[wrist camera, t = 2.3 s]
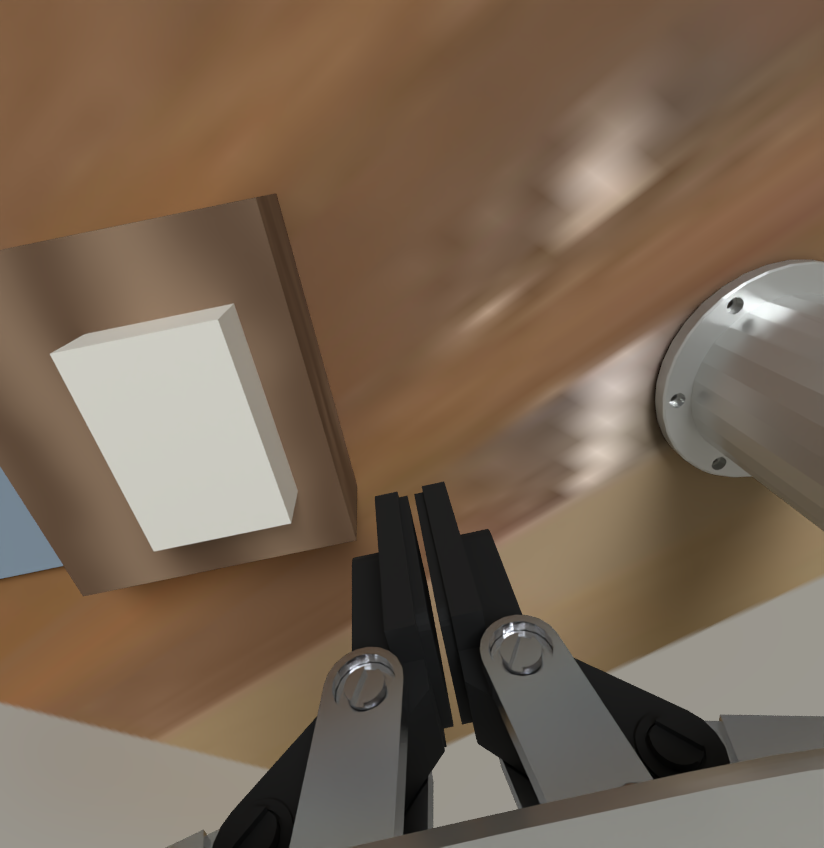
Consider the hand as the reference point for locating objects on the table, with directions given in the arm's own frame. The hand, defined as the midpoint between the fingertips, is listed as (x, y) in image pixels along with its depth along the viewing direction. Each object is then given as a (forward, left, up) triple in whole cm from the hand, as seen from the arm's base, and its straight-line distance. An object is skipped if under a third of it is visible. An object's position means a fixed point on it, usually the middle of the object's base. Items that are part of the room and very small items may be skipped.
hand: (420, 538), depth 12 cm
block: (+9, 0, -11) cm, 14 cm away
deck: (+11, 0, -16) cm, 19 cm away
